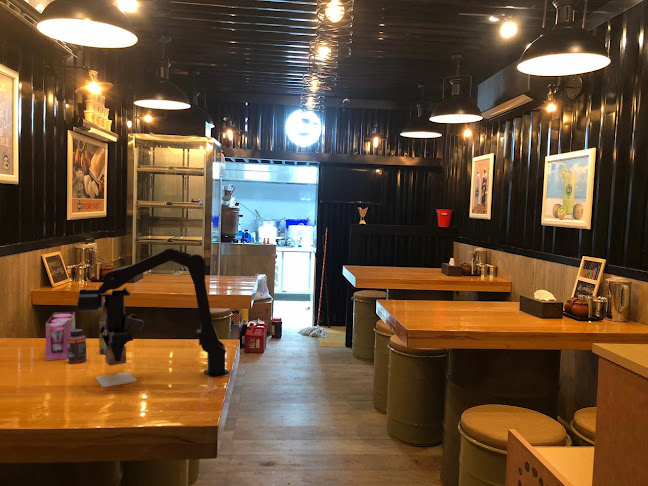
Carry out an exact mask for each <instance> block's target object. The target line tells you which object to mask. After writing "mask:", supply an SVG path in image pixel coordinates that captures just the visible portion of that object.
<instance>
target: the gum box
mask: <svg viewBox="0 0 648 486" xmlns="http://www.w3.org/2000/svg"><path fill="white" fill-rule="evenodd" d="M75 329H76V311H65V312H61V311H59V312H53V313H52V315H51V316H50V318H49V319H47V321H45V361H56V360H68V337H70V335H71V334H70V331H71V330H75Z"/></svg>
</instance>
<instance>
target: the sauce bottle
mask: <svg viewBox="0 0 648 486" xmlns="http://www.w3.org/2000/svg"><path fill="white" fill-rule="evenodd" d="M104 313H105V299H104V304H103V307H102V314H101V316H100V317H99V322H98V327H99V326H100V325H101V324H104V323H105V317H104ZM101 335H104V332H103V334H100V333H99V332H98V340H99V341H98V343H99V344H98V348H99V353H101V354H104V355H106V353H105V346H106V344H105V342H104V340H103V338H102V336H101Z"/></svg>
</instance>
